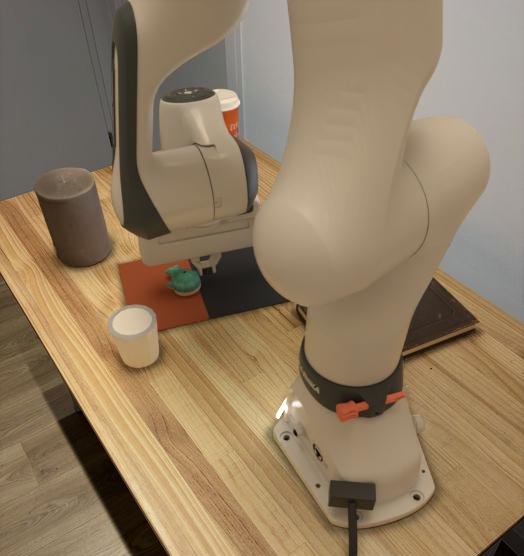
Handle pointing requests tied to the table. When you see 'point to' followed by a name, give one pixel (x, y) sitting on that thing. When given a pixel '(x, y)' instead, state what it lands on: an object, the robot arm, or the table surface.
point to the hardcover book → (431, 320)
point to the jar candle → (135, 335)
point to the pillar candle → (73, 216)
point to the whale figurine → (183, 280)
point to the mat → (209, 298)
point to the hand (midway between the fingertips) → (206, 272)
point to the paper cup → (229, 109)
